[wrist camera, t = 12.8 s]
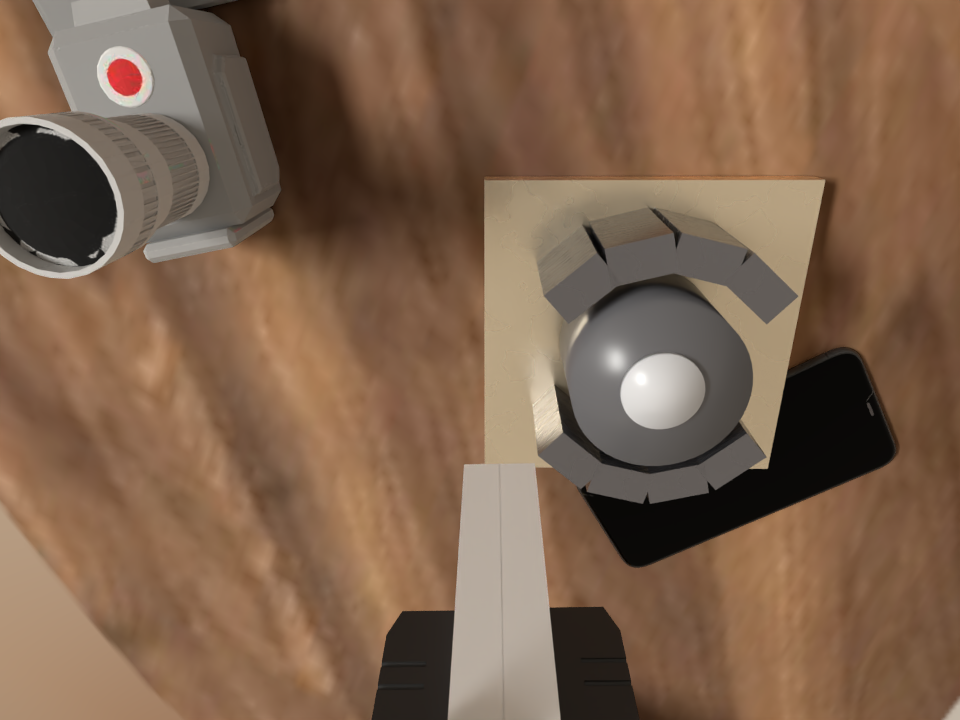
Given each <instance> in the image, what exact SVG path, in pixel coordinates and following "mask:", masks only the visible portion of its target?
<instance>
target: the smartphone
mask: <svg viewBox="0 0 960 720" xmlns="http://www.w3.org/2000/svg"><path fill="white" fill-rule="evenodd" d="M895 454H896V444H895V441H894V438H893V436H892V433H891V431H890V428H889V426H888V423H887V420H886V418H885V415H884V413H883V410H882V408H881V405H880V403H879V400H878V398H877V395H876V393H875V390H874V388H873V385H872V383H871V380H870V378H869V375H868V373H867V370H866V368H865V365H864V363H863V361H862V358H861V357H860V355H859V354H858V353H857V352H856V351H854V350H853V349H851V348H847V347H840V348H836V349H832V350H830V351H828V352H825V353H823V354H821V355H819V356H817V357H815V358H813V359H810V360H808V361H806V362H804V363H802V364H800V365H798V366H795V367H793V368H791V369H789V370H787V375H786V380H785V385H784V390H783V395H782V400H781V405H780V410H779V415H778V420H777V425H776V430H775V435H774V440H773V445H772V450H771V455H770V460H769V465H768V469H748V470H746V471H745V472H743V473H741V474H740V475H738V476H737V477H735V478H734V479H732V480H731V481H729V482H727V483H726V484H724V485H723V486H721V487H720V488H718V489H717V490H715V489H714V488H713V487H712V485H711V484H710V483H709V482H708V481H707V483H708V491H709V493H705V494H700V495H695V496H689V497H684V498H679V499H673V500H668V501H663V502H657V503H652V504H650V502H649V500H648V497H647V495H646V498H645V500H644V502H643V504H641V503H637V502H632V501H627V500H623V499H618V498H613V497H609V496H604V495H599V494H595V493H590V492H587V489H586V485H585V486H584V487H583V488H581V489H580V488H579V487H578V486H577V489H578V490H579V492H580V494H581V495H582V497H583V499H584V500H585V502H586V504H587V505H588V507H589V508H590V510H591V512H592V513H593V515H594V516H595V518H596V519H597V521H598V522H599V524H600V526H601V527H602V529H603V531H604V532H605V534H606V535H607V537H608V539H609V540H610V542H611V543H612V545H613V546H614V548H615V550H616V551H617V553H618V554H619V556H620V557H621V559H622V560H623V561H624V562H625V563H626V564H627V565H629V566H631V567H635V568H640V567H645V566H648V565H651V564H653V563H655V562H658V561H660V560H663V559H665V558H667V557H670V556H672V555H675V554H677V553H679V552H682V551H684V550H686V549H689V548H691V547H694V546H696V545H698V544H701V543H703V542H706V541H708V540H710V539H713V538H715V537H717V536H720V535H722V534H725V533H727V532H729V531H732V530H734V529H737V528H739V527H741V526H744V525H746V524H748V523H751V522H753V521H756V520H758V519H760V518H763V517H765V516H768V515H770V514H772V513H775V512H777V511H779V510H782V509H784V508H787V507H789V506H791V505H794V504H796V503H799V502H801V501H803V500H806V499H808V498H810V497H813V496H815V495H818V494H820V493H822V492H825V491H827V490H830V489H832V488H834V487H837V486H839V485H842V484H844V483H846V482H849V481H851V480H853V479H856V478H858V477H861V476H863V475H865V474H868V473H870V472H873V471H875V470H877V469H880V468H882V467H884V466H885V465H887V464H888V463H890V462H891V461H892V460H893V458H894V456H895Z"/></svg>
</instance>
